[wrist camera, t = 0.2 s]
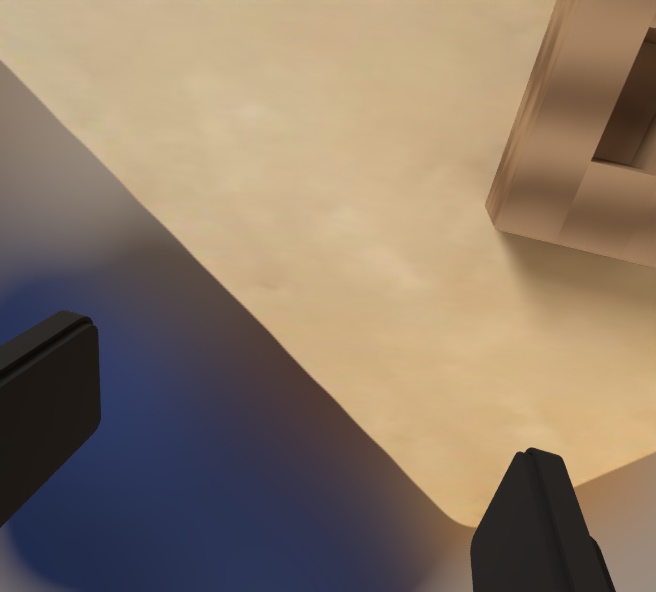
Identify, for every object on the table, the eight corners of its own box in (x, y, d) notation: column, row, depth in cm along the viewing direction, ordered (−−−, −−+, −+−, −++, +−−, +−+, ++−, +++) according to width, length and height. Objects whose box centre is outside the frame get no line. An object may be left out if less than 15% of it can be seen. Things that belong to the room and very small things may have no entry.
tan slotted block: (581, -69, 29) (622, -113, 23) (783, -35, 28) (884, -71, 21) (484, 205, 37) (495, 229, 31) (638, 242, 36) (682, 274, 29)
